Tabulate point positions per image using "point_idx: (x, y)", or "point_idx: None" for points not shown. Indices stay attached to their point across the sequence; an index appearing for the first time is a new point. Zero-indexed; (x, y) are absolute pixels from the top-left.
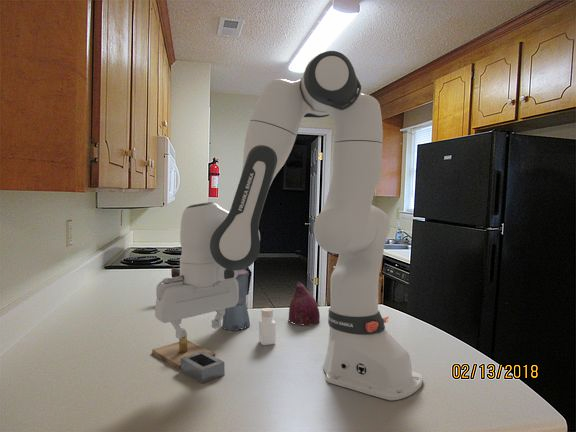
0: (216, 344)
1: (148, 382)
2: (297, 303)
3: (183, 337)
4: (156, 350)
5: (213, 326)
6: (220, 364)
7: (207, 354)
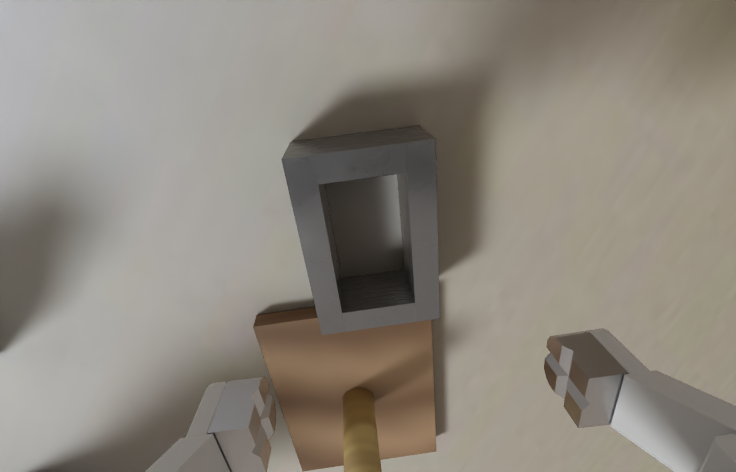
0: None
1: (559, 264)
2: None
3: (565, 334)
4: (429, 440)
5: (268, 406)
6: (310, 153)
7: (319, 291)
